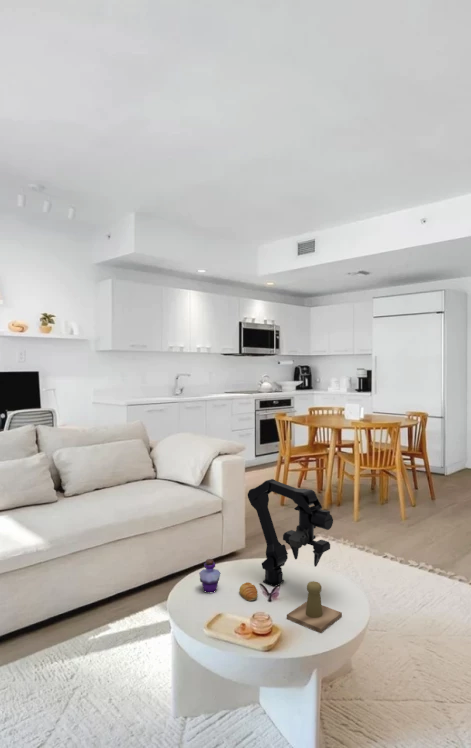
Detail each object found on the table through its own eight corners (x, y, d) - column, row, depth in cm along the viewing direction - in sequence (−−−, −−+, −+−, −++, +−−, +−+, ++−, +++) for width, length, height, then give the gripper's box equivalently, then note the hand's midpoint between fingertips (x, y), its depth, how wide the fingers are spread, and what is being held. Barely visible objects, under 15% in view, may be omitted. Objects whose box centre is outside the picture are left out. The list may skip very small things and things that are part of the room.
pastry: (261, 600, 190) (261, 591, 190) (244, 603, 189) (244, 593, 188) (254, 589, 199) (253, 580, 199) (237, 592, 198) (237, 582, 197)
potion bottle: (200, 584, 204) (200, 555, 203) (221, 585, 203) (221, 555, 203) (197, 594, 195) (197, 564, 195) (220, 595, 195) (219, 564, 194)
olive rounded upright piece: (314, 607, 182) (314, 577, 181) (326, 614, 177) (326, 583, 176) (301, 612, 178) (301, 582, 178) (314, 619, 173) (313, 588, 173)
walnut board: (286, 618, 177) (286, 614, 177) (308, 604, 187) (308, 600, 187) (320, 633, 168) (320, 628, 168) (341, 616, 178) (341, 612, 178)
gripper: (274, 522, 194) (273, 561, 195) (314, 534, 181) (313, 577, 182) (291, 515, 202) (291, 553, 203) (331, 527, 189) (330, 567, 190)
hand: (305, 562), depth 194 cm, fingers open, 9 cm apart
